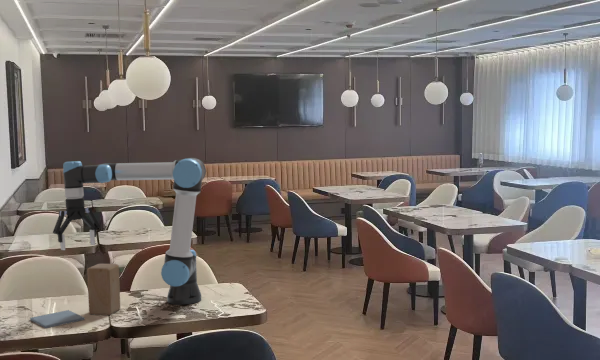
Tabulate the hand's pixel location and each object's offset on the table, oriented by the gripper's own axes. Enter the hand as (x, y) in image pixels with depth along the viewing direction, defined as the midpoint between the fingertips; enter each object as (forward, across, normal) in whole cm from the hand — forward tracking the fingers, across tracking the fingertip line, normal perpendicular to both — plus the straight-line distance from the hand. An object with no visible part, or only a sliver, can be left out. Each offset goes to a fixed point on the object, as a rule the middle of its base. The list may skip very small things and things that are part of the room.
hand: (78, 247), depth 283 cm
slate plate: (+27, +14, +5) cm, 31 cm away
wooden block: (+28, -5, +10) cm, 30 cm away
